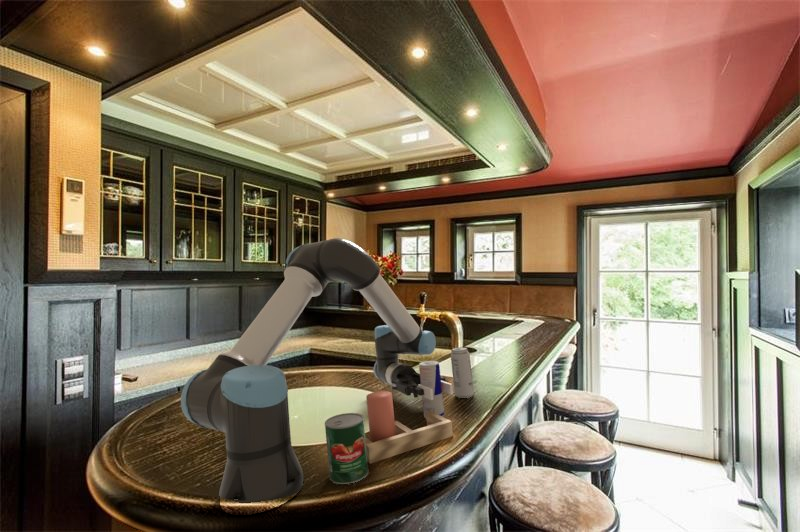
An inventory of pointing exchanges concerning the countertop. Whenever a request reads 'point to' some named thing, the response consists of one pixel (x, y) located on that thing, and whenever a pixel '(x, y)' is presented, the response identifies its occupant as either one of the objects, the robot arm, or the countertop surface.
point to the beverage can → (432, 387)
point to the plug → (380, 415)
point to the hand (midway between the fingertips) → (441, 391)
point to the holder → (409, 438)
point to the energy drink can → (462, 372)
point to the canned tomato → (346, 448)
